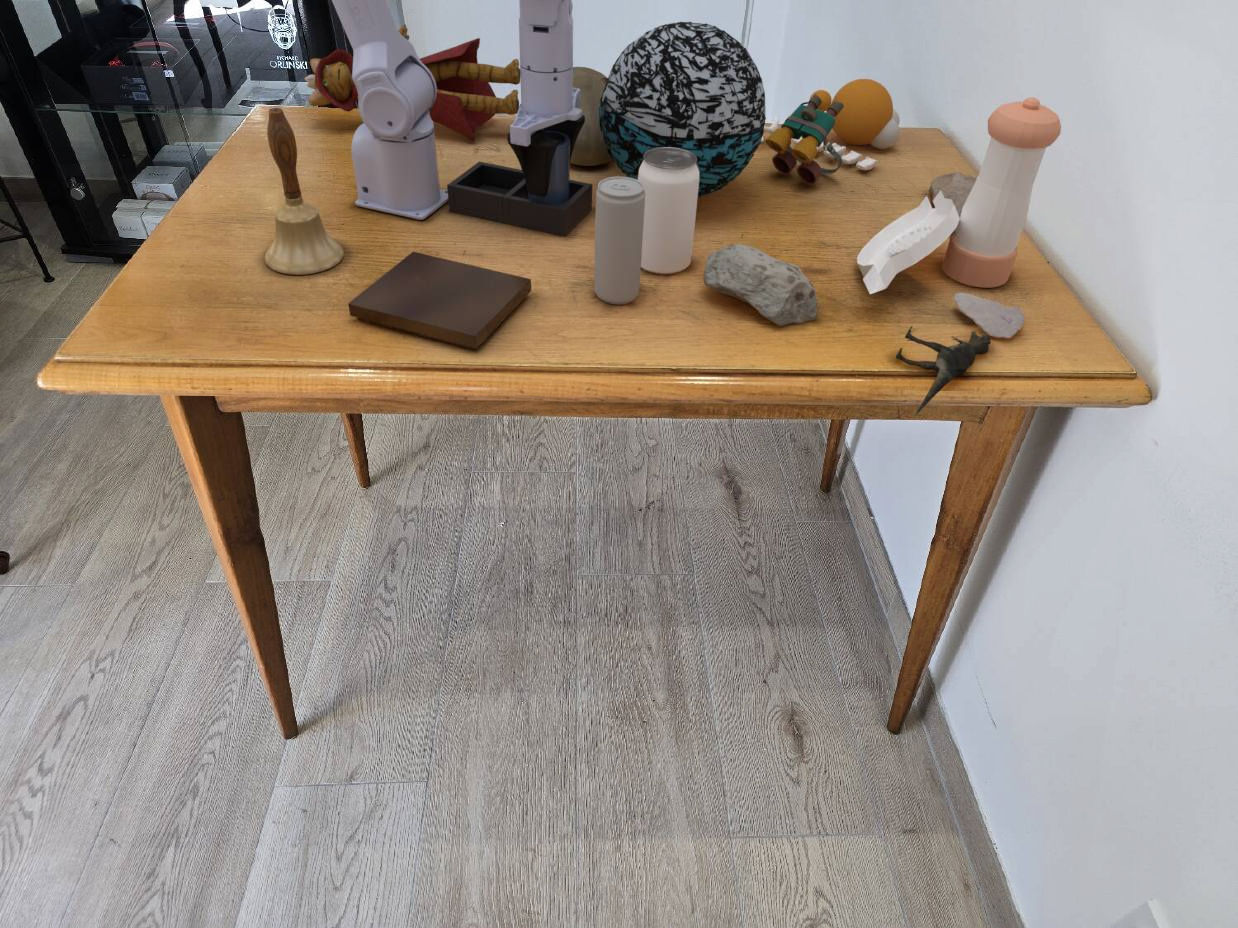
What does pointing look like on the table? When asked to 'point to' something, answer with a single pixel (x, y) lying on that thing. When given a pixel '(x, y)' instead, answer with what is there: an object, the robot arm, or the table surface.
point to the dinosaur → (948, 360)
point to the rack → (515, 200)
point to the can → (668, 209)
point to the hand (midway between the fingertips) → (547, 185)
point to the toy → (863, 114)
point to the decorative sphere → (685, 101)
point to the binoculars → (805, 140)
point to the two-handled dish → (906, 241)
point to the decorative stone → (762, 283)
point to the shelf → (441, 299)
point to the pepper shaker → (1001, 194)
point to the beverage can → (618, 239)
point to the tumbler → (558, 172)
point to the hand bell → (296, 213)
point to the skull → (589, 118)
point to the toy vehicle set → (846, 156)
